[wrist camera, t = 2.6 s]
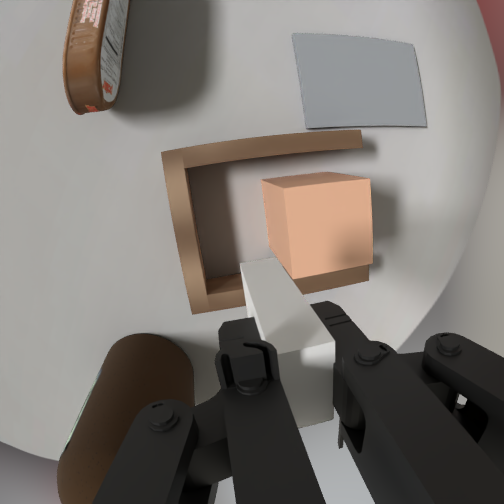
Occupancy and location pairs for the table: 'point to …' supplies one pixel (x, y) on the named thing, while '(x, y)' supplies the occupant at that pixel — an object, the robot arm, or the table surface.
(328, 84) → the mat
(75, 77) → the tin
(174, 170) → the bay
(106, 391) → the olive oil
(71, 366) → the table surface
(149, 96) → the table surface
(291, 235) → the block
